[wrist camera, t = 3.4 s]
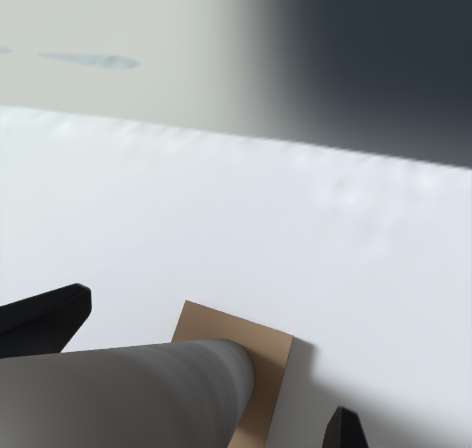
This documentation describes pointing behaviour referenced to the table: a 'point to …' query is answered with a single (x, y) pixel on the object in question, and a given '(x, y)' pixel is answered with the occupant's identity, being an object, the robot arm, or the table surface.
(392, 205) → the table surface
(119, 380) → the grey knob lever
